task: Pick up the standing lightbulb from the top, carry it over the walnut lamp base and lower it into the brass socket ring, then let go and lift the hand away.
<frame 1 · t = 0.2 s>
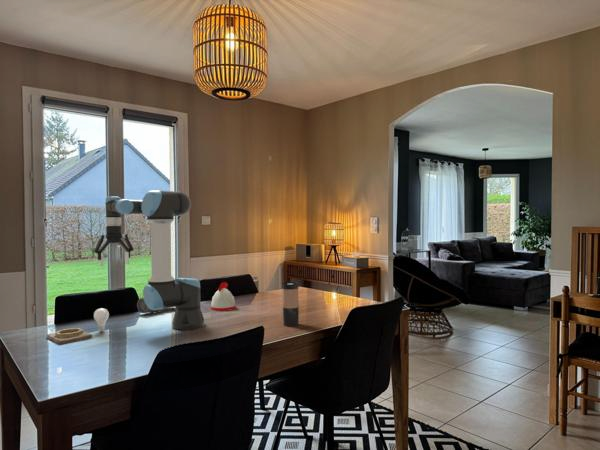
hand: (114, 265, 227), 28 cm above the table, tool pointing down, fingers open, 13 cm apart
bluetooth speaker: (159, 311, 239), on the table
travel mug: (291, 325, 204), on the table
white dome: (223, 308, 245), on the table
socket: (69, 337, 186), on the table
lightbulb: (101, 332, 196), on the table
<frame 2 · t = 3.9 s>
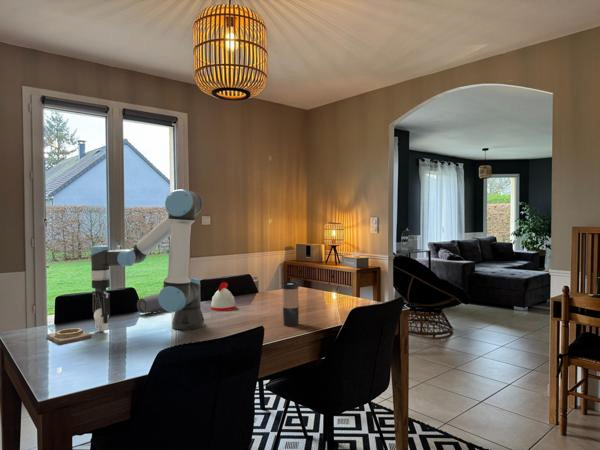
hand: (101, 328, 196), 1 cm above the table, tool pointing down, fingers closed on lightbulb, 6 cm apart
lightbulb: (101, 332, 196), on the table, touching gripper
everything else where it was.
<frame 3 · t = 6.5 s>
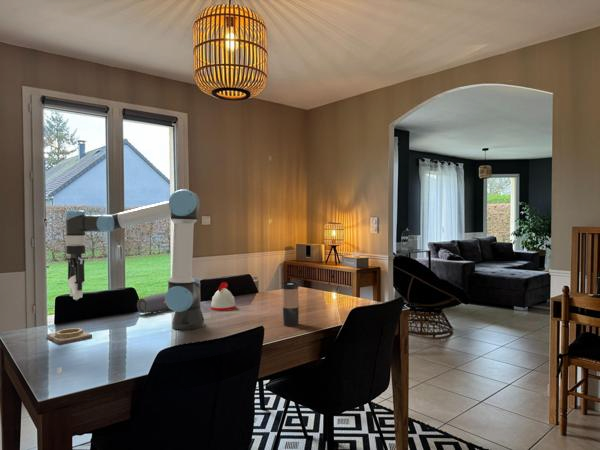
hand: (76, 296, 189), 18 cm above the table, tool pointing down, fingers closed on lightbulb, 6 cm apart
lightbulb: (76, 300, 189), point 16 cm above the table, touching gripper
everything else where it was.
when the fingers open (4 cm above the table, at t = 9.0 s): lightbulb stays where it is, resting on socket.
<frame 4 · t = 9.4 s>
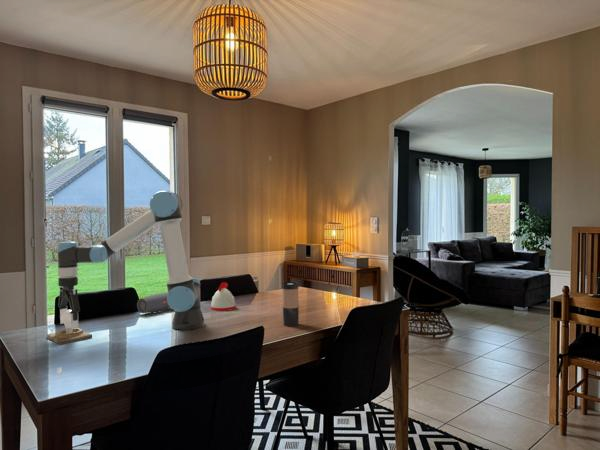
hand: (69, 325, 186), 5 cm above the table, tool pointing down, fingers open, 12 cm apart
lightbulb: (69, 334, 186), point 1 cm above the table, touching socket
everything else where it was.
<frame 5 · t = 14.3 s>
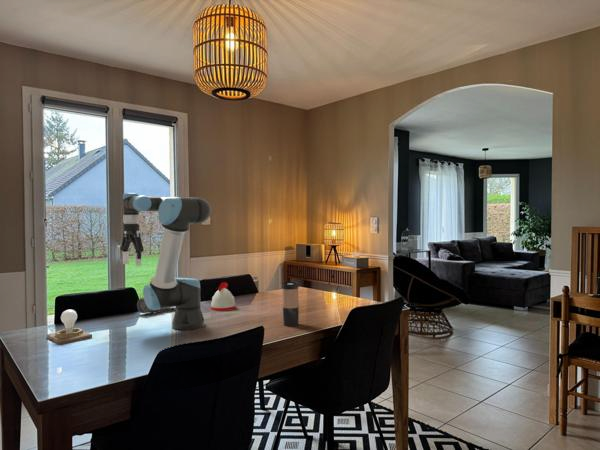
hand: (132, 264, 217), 29 cm above the table, tool pointing down, fingers open, 13 cm apart
nothing on the table moved.
at the end: lightbulb 0.0 cm off-centre on the socket, point 1.3 cm above the socket's base; lightbulb tilted 0°; the gripper is holding nothing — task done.
